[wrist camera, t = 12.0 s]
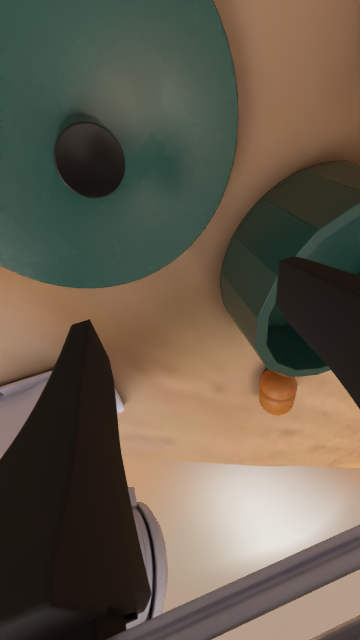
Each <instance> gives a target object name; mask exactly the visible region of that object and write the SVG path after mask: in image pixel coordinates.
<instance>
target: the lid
mask: <svg viewBox="0 0 360 640" xmlns="http://www.w3.org/2000/svg"><path fill="white" fill-rule="evenodd" d="M237 132H238V93H237V86H236V78H235V71H234V65H233V61H232V56H231V52H230V48H229V44H228V39H227V36H226V33H225V31H224V28H223V25H222V22H221V19H220V16H219V13H218V10H217V8H216V6H215V4H214V2H213V0H0V265H1V266H3V267H5V268H7V269H9V270H11V271H14V272H16V273H18V274H20V275H23V276H26V277H29V278H32V279H34V280H37V281H40V282H45V283H49V284H53V285H58V286H65V287H73V288H102V287H111V286H116V285H121V284H126V283H129V282H132V281H135V280H138V279H141V278H144V277H146V276H148V275H150V274H152V273H155V272H156V271H158V270H160V269H161V268H163V267H165V266H166V265H168V264H169V263H171V262H172V261H173V260H175V259H176V258H177V257H179V256H180V255H181V254H182V253H183V252H184V251H185V250H186V249H187V248H188V247H189V246H191V245H192V244H193V242H194V241H195V240H196V239H197V238H198V236H199V235H200V234H201V233H202V232H203V230H204V229H205V227H206V226H207V224H208V223H209V221H210V220H211V218H212V217H213V215H214V213H215V211H216V209H217V207H218V205H219V203H220V201H221V199H222V196H223V194H224V191H225V189H226V186H227V184H228V180H229V177H230V173H231V169H232V166H233V161H234V156H235V150H236V144H237Z"/></svg>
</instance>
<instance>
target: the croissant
mask: <svg viewBox="0 0 360 640" xmlns="http://www.w3.org/2000/svg"><path fill="white" fill-rule="evenodd" d="M296 391H297V382H296V379H295V377H288V376H285V375H282V374H280V373H277V372H274V371H271V370H269V369H268V370H266V371H265V372H264V373H263V375H262V377H261V380H260V388H259V401H260V404H261V406H262V407H263V409H264V410H265V411H267V412H268V413H270V414H273V415H283V414H286V413H287V412H288V411H290V409H291V408H292V406H293V404H294V399H295V395H296Z"/></svg>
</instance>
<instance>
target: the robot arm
mask: <svg viewBox="0 0 360 640" xmlns="http://www.w3.org/2000/svg"><path fill="white" fill-rule="evenodd" d="M276 305H277V306H278V308H279V309H280V311H281V312H282V314H283V315H284V317H285V318H286V320H287V321H288V323H289V324H290V325H291V326H292V327H293V328H294V329H295V331H296V332H297V333H298V334H299V335H300V336H301V337H302V338H303V339H304V340H305V342H306V343H307V344H308V345H309V346H310V347H311V348H312V349H313V350H314V351H315V352H316V354H317V355H318V356H319V357H320V358H321V359H322V360H323V361H324V362H325V363H326V364H327V366H328V367H329V368H330V369H331V370H332V372H333V373H334V374H335V375H336V377H337V378H338V379H339V381H340V382H341V383H342V385H343V386H344V388H345V389H346V390H347V392H348V393H349V394H350V396H351V397H352V399H353V400H354V402H355V403H356V404H357V406H358V407H359V409H360V276H359V275H356V274H353V273H349V272H346V271H343V270H340V269H337V268H333V267H330V266H327V265H324V264H321V263H318V262H315V261H311V260H308V259H305V258H301V257H297V256H292V257H289V258H286V259H283V260H280V261H279V270H278V281H277V292H276ZM124 410H125V407H124V404H123V402H122V400H121V398H120V396H119V394H118V392H117V390H116V388H115V386H114V380H113V375H112V370H111V366H110V361H109V358H108V355H107V353H106V351H105V349H104V347H103V345H102V343H101V341H100V339H99V337H98V335H97V333H96V331H95V329H94V327H93V325H92V323H91V321H90V319H89V320H86V321H83V322H80V323H76V324H73V325H72V326H71V328H70V330H69V333H68V335H67V338H66V340H65V343H64V345H63V348H62V350H61V353H60V355H59V358H58V360H57V362H56V364H55V366H54V369H53V370H52V371H48V372H45V373H42V374H39V375H36V376H33V377H29V378H26V379H23V380H20V381H17V382H14V383H10V384H7V385H4V386H1V387H0V640H211V639H213V638H215V637H217V636H220V635H222V634H224V633H226V632H228V631H230V630H232V629H234V628H236V627H239V626H241V625H243V624H245V623H247V622H249V621H251V620H253V619H255V618H257V617H259V616H262V615H264V614H266V613H268V612H270V611H272V610H274V609H277V608H279V607H281V606H283V605H285V604H287V603H289V602H291V601H293V600H296V599H298V598H300V597H302V596H304V595H306V594H308V593H310V592H312V591H314V590H317V589H319V588H321V587H323V586H325V585H327V584H329V583H331V582H334V581H336V580H338V579H340V578H342V577H344V576H346V575H348V574H350V573H352V572H355V571H357V570H359V569H360V525H358V526H356V527H354V528H351V529H349V530H347V531H345V532H342V533H340V534H338V535H336V536H334V537H331V538H329V539H327V540H325V541H322V542H320V543H318V544H316V545H314V546H311V547H309V548H307V549H305V550H303V551H300V552H298V553H296V554H294V555H291V556H289V557H287V558H285V559H283V560H280V561H278V562H276V563H274V564H272V565H269V566H267V567H265V568H263V569H260V570H258V571H256V572H254V573H252V574H250V575H247V576H245V577H243V578H241V579H238V580H236V581H234V582H232V583H229V584H227V585H225V586H223V587H221V588H218V589H216V590H214V591H212V592H210V593H207V594H205V595H203V596H201V597H199V598H196V599H194V600H192V601H190V602H187V603H185V604H183V605H181V606H179V607H177V608H174V609H172V610H170V611H168V612H165V613H163V614H162V610H163V603H164V599H165V594H166V589H167V575H168V570H167V569H168V566H167V555H166V547H165V542H164V538H163V534H162V531H161V528H160V525H159V523H158V521H157V519H156V518H155V516H154V515H153V513H152V511H151V510H150V509H149V507H148V506H147V505H145V504H144V503H141V502H136V496H135V491H134V487H128V486H127V481H126V476H125V471H124V466H123V460H122V455H121V448H120V441H119V430H118V419H117V414H118V413H121V412H123V411H124ZM310 640H360V615H359V616H357V617H355V618H353V619H351V620H349V621H347V622H345V623H343V624H340V625H338V626H336V627H334V628H332V629H330V630H328V631H326V632H324V633H323V634H321V635H318V636H316V637H314V638H312V639H310Z"/></svg>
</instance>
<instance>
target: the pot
mask: <svg viewBox="0 0 360 640" xmlns="http://www.w3.org/2000/svg"><path fill="white" fill-rule="evenodd" d="M292 256H297V257H301V258H305V259H308V260H311V261H315V262H318V263H321V264H324V265H327V266H330V267H333V268H337V269H340V270H343V271H346V272H349V273H353V274H356V275H359V276H360V164H357V163H353V162H349V161H346V160H341V161H332V162H326V163H321V164H317V165H314V166H311V167H308V168H305V169H303V170H301V171H299V172H297V173H295V174H293V175H291V176H290V177H288V178H287V179H285V180H283V181H282V182H280V183H279V184H278V185H276V186H275V187H274V188H273V189H271V190H270V191H269V192H268V193H267V194H266V195H264V196H263V197H262V198H261V199H260V200H259V201H258V202H257V203H256V204H255V206H254V207H253V208H252V209H251V210H250V212H249V213H248V214H247V215H246V216H245V218H244V219H243V221H242V222H241V224H240V225H239V227H238V228H237V230H236V232H235V234H234V235H233V237H232V239H231V241H230V243H229V246H228V248H227V251H226V253H225V257H224V260H223V264H222V269H221V275H220V289H221V296H222V299H223V304H224V306H225V308H226V309H227V311H228V312H229V314H230V315H231V317H232V318H233V320H234V321H235V323H236V324H237V326H238V327H239V329H240V330H241V332H242V333H243V334H244V336H245V337H246V339H247V340H248V342H249V343H250V345H251V346H252V347H253V349H254V350H255V352H256V353H257V355H258V356H259V357H260V359H261V360H262V362H263V363H264V365H265V366H266V367H267V369H269V370H271V371H274V372H277V373H280V374H282V375H285V376H288V377H297V376H309V375H317V374H321V373H323V372H326V371H329V370H331V369H330V368H329V367H328V366H327V364H326V363H325V362H324V361H323V360H322V359H321V358H320V357H319V356H318V355H317V354H316V352H315V351H314V350H313V349H312V348H311V347H310V346H309V345H308V344H307V343H306V342H305V340H304V339H303V338H302V337H301V336H300V335H299V334H298V333H297V332H296V331H295V329H294V328H293V327H292V326H291V325H290V324H289V323H288V321H287V320H286V318H285V317H284V315H283V314H282V312H281V311H280V309H279V308H278V306H277V305H276V292H277V281H278V270H279V261H280V260H283V259H286V258H289V257H292Z"/></svg>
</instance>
